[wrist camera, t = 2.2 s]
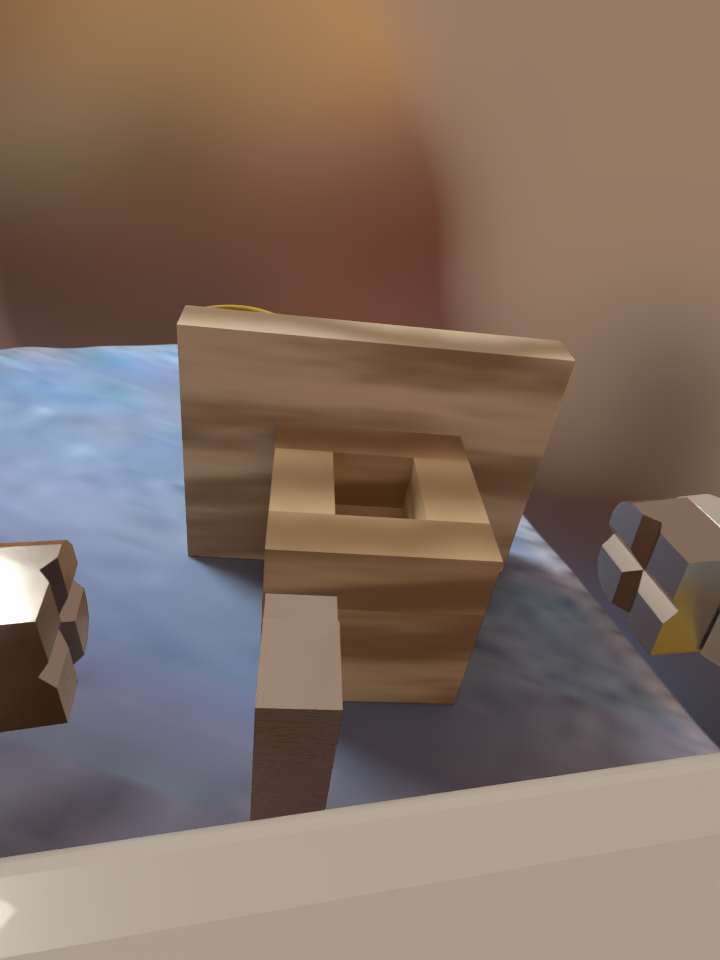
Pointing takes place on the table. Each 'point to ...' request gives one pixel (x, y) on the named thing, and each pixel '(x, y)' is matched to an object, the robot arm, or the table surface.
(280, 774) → the grey brown tall block
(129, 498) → the table surface
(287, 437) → the tan blocky piece
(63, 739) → the table surface
